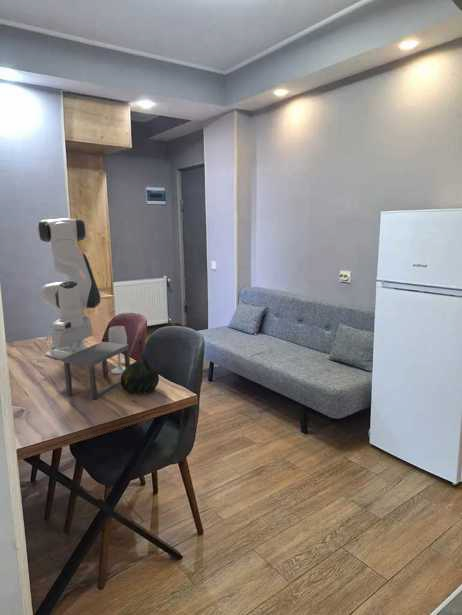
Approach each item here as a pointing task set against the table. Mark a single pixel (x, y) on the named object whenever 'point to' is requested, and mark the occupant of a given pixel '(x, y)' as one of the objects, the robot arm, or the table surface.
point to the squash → (140, 377)
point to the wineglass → (119, 336)
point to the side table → (92, 358)
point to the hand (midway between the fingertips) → (75, 351)
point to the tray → (64, 352)
